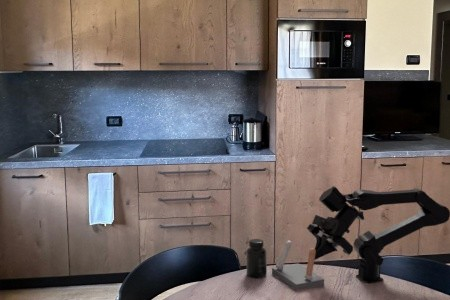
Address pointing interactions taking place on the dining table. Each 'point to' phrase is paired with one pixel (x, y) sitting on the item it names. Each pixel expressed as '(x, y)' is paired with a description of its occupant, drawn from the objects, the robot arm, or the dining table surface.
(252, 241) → the supplement bottle
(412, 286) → the dining table surface
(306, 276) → the terracotta lever
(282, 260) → the pale grey lever
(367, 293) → the dining table surface
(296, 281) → the switch panel
